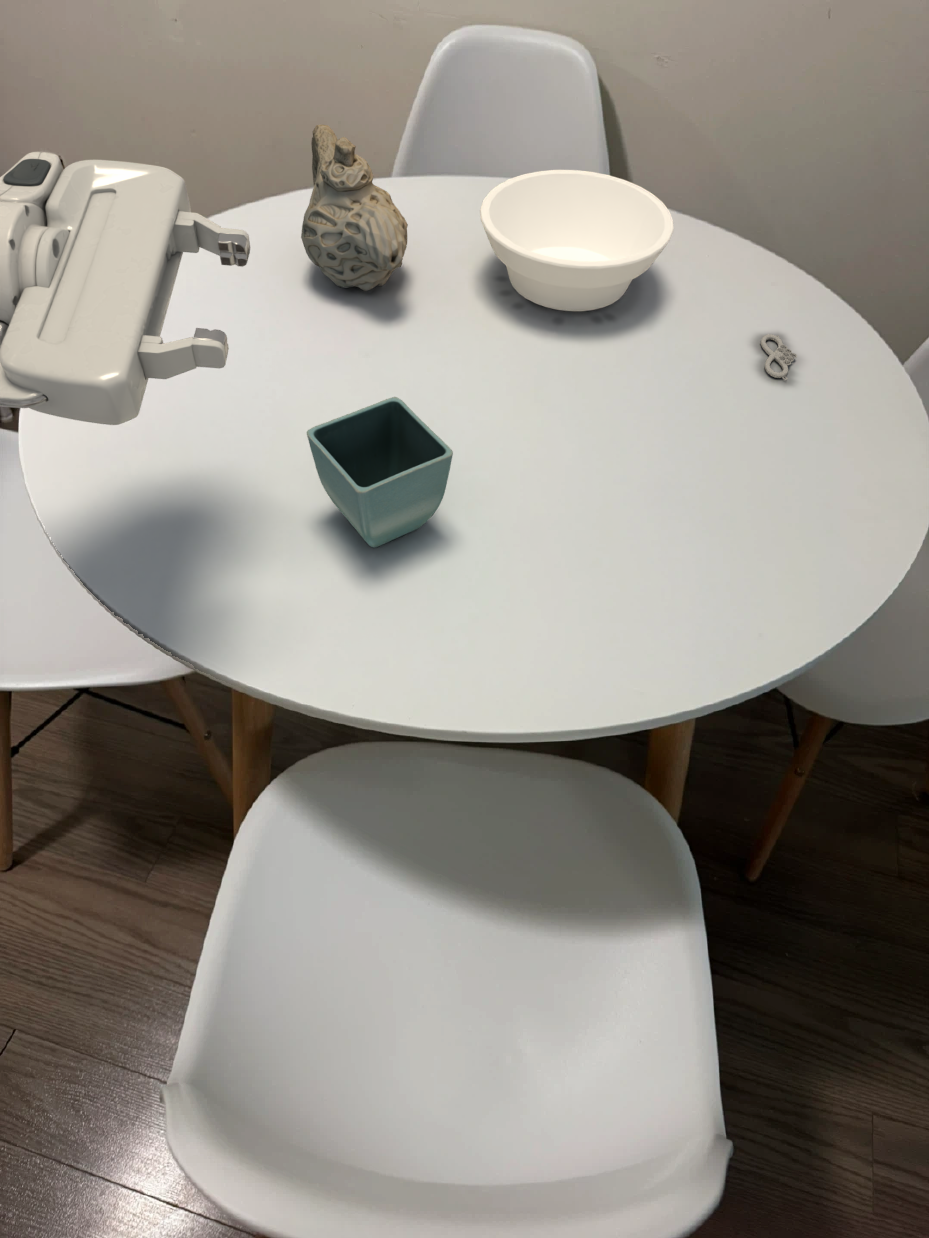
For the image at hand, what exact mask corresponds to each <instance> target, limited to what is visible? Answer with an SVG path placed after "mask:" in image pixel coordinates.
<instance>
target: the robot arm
mask: <svg viewBox="0 0 929 1238" xmlns="http://www.w3.org/2000/svg"><path fill="white" fill-rule="evenodd" d="M190 202H191V201H190V198H189V194H188V188H187V184H186V181H185V179H184V177H182V176H180V175H179V174H178V173H176V172H175V171H173V170H171V169H170V168H167V167H164V166H160V165H154V164H147V163H140V162H133V161H121V160H107V159H85V160H79V161H78V160H77V161H75V162H72V163H70V164H69V165H67V166H66V167H64V166H63V164H62V162H61V159H60V156H58V155H57V154H55V153H52V152H46V151H32V152H28V153H27V154H25V155H24V156H22V158H20V159H19V160H18V161H17V162H16V163H15V164H14V165H13V166H12V167H11V168H9V169H8V170H7V171H6V172H5V173H4V174H2V175H1V176H0V408H1V407H2V408H14V409H30V410H31V411H34V412H35V411H36V412H39V413H41V414H46V415H48V416H54V417H57V418H58V417H59V418H63V419H68V420H74V421H79V422H86V423H92V424H97V425H98V424H99V425H108V426H119V425H123V424H124V423H127V422H129V421H132V420H133V419H135V418H137V417H138V416H139V414H140V411H141V407H142V405H143V400H144V396H145V392H146V389H147V385H148V382H149V379H157V380H169V379H171V378H173V377H176V376H179V375H182V374H184V373H187V372H190V371H192V370H195V369H197V368H210V369H223V368H225V366H226V363H227V359H228V355H229V349H230V348H229V343H228V337H227V333H226V332H225V331H223V330H221V329H211V330H210V329H208V328H202V327H201V328H200V327H196V328H195V331H194V333H193V336H191V337H186V338H182V339H176V340H173V341H168V342H165V343H164V340H163V337H162V336H161V335H162V331H163V327H164V323H165V320H166V317H167V312H168V310H169V305H170V302H171V298H172V294H173V291H174V287H175V283H176V280H177V276H178V273H179V269H180V266H181V262H182V258H183V254H184V253H188V254H189V253H190V254H198V253H199V252H200V248H201V249H203V250H205V251H208V252H210V253H212V254H215V255H216V256H219V258H220V264H221V266H230V267H231V266H237V267H241V268H243V267H245V266H247V264H248V262H249V261H248V260H249V257H250V254H251V243H250V235H249V233H248V232H247V231H246V230H243V229H239V228H228V227H222V226H221V225H219V224H217V223H216V222H214V221H212V220H210V219H208V218H207V217H206V216H203V215H201V214H200V213H198V212H192V208H191V204H190Z"/></svg>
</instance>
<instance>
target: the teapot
mask: <svg viewBox="0 0 929 1238" xmlns="http://www.w3.org/2000/svg"><path fill="white" fill-rule="evenodd" d="M310 142H311V143H310V145H311V154H312V156H311V157H312V158H311V159H312V160H311V162H312V163H311V172H312V183H313V188H312V192H311V195H310V197H309V202H308V205H307V207H306V209H305V212H304V215H303V220H302V224H301V235H300V238H301V242H302V244H303V248H304V251H305V254H306V255H307V257H308V259H309V260H310V261H311V262H312V263H313V264H314V266H318V267H319V269H320V271H321V272H322V274H323V275H325V276H326V277H327V278H328V279H329V280H330V281H332V282H333V283H334V284H335V286H337V287H338V288H340V289H343V288H352V287H357V288H359V289H361V290H362V291H364V292H367V291H371V290H372V289H374V288H376V287H377V286H379V287H383V286H385V285H386V284H387V281H388V280H389V279H390V277H391V276H392V274H393V272H394V271H395V270H397V269H399V268H400V267H402V264H403V260H404V259H403V258H404V256H405V253H406V250H407V248H408V247H407V246H408V226H409V224H408V222H407V219H405V217H404V216H403V215H402V213H401V211H400V210H399V208H397V206H396V205H395V203H394V202H393V199H392V195H391V194H390V193H389V192H388V191H387V190H385V189H383V188H381V187H380V186H377V185H375V184H374V183H373V180H374V177H375V176H374V174H373V170H372V168H371V166H370V164H369V163H368V161H367V160H366V159H365V158H363V157H362V156H361V155H358V154H357V153H355V151H356V147H357V146H356V145H355V144H354V143H353V142H351V140H349V139H348V138H347V137H346V136H342V137H340V138H339V139H338V137H337V135H336V133H335V132H334V130H333V128H331V127H330V125H328V124H316V125H315V126H314V128H313V130H312V136H311V141H310Z"/></svg>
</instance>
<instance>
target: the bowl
mask: <svg viewBox="0 0 929 1238" xmlns="http://www.w3.org/2000/svg"><path fill="white" fill-rule="evenodd" d="M479 216H480V222H481V224H482V226H483V227H482V228H483V229H484V232H485V234H486V237H487V240H488V242H489V245H490V246H491V249H492V251H493V252H494V255H495V256H496V258H498V259H499V260H500V262H502V263H503V265H505V266H506V271H507V275H508V278H509V281H510V284H511V286H512V288H514V290H515V291H516V292H517V293H518V294H519V295H521V296H522V297H523V298H525V299H526V300H528V301H530V302H532V303H534V304H536V305H539V306H542V307H544V308H548V309H553V310H558V311H565V312H587V311H594V310H599V309H602V308H605V307H608V306H610V305H613V304H614V303H616V302H617V301H618V300H620V299H621V298H622V297H623V296H624V295H625V294H626V291H627V290H628V288H629V286H630V284H631V283H632V281H633V280H634V279H637V278H638V277H640V276H641V275H642V274H644V273H645V272H646V271H648V269H649V268H650V267H651V266H652V265H653V264H654V263H655V262H656V260H657V259H658V257H659V256H660V254H661V253H662V252H663V250H664V249H665V248H666V247H667V245H668V244H669V243H670V241H671V239H672V237H673V234H674V220H673V217H672V214H671V211H670V210H669V208H667V206H666V205H665V203H664V202H663V201H662V200H661V199H660V198H658V197H657V196H656V195H654V194H653V193H651V191H649V190H647V189H645V188H644V187H642V186H640V185H638V184H635V183H633V182H631V181H628V180H627V179H623V178H621V177H620V178H619V177H616V176H613V175H609V174H605V173H601V172H600V173H599V172H596V171H588V170H579V169H578V170H577V169H550V170H548V169H547V170H537V171H533V172H527V173H524V174H520V175H518V176H514V177H511V178H509V179H507V180H504V181H503V182H501V183H499V184H497V185H496V186H495V187H494V188H492V189H491V190H490V191H489V192H488V193H487V195H486V196H485V197H484V198H483V200H482V203H481V206H480V209H479Z"/></svg>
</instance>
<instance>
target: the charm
mask: <svg viewBox="0 0 929 1238" xmlns="http://www.w3.org/2000/svg"><path fill="white" fill-rule="evenodd" d="M768 340H771V341H774V342H775V343H777V348H776V350H772V349H771V348H770V347H769V346H768V344H767V343H766V342H767V341H768ZM760 346H761V348H762V349H763V350H764V352H765V353H766V354H767V355H768V357H767V359H766V360H765V363H764V369H765V372H766V373H767V374H768V375H769V376H771V377H773V378H775V379H781V378H782V379H783V380H784V381H787V380H788V377H787V375H788V372H789V367H788V366H791V364H792V362H794V360H795V359H796V358H797V357H798V355H797V353H794V352H793V351H792V349H789V348H788V346H787V345H785V344H784V343H783V340H782V339H781V338H780V336H779V335H777V334H771V333H767V334H765V335H763V336H762V337H761V339H760ZM773 361H776V362H777V363H778V364H779V365H780V367H781V368H782V370H781V371H779V372H777V371H774V370H773V369H772V368H771V364H772V362H773Z"/></svg>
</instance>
